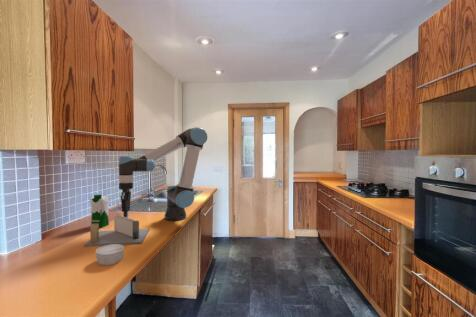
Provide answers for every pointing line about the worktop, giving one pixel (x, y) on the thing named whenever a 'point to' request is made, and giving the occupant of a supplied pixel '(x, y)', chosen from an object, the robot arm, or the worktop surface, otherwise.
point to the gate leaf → (123, 225)
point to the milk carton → (99, 210)
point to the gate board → (117, 238)
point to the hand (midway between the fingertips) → (126, 222)
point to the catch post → (94, 233)
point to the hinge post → (135, 229)
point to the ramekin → (109, 254)
